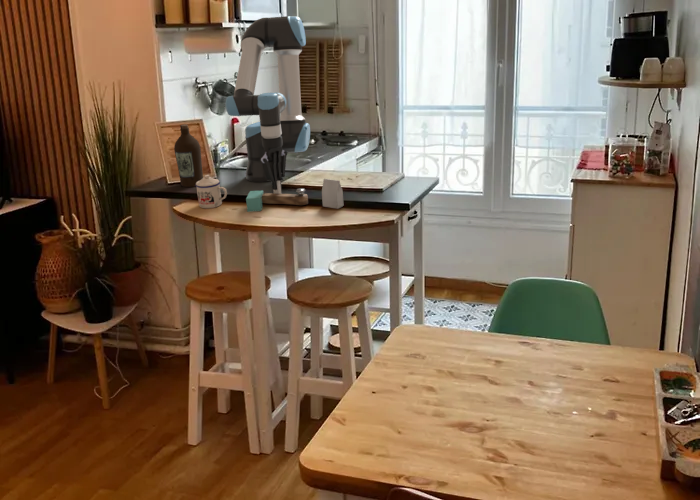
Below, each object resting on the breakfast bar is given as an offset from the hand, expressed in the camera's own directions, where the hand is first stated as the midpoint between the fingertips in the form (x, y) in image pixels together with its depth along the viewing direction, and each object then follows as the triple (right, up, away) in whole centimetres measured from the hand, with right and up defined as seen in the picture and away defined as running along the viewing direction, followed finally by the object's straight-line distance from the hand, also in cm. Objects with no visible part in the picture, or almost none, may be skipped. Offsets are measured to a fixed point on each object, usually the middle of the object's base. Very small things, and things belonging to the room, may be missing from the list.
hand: (277, 197), depth 285 cm
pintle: (+9, 0, -6) cm, 11 cm away
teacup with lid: (-24, -3, +1) cm, 25 cm away
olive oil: (-39, +7, +31) cm, 50 cm away
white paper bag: (+21, -4, -9) cm, 24 cm away
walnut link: (+1, -2, -3) cm, 4 cm away
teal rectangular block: (-8, -5, -6) cm, 11 cm away
